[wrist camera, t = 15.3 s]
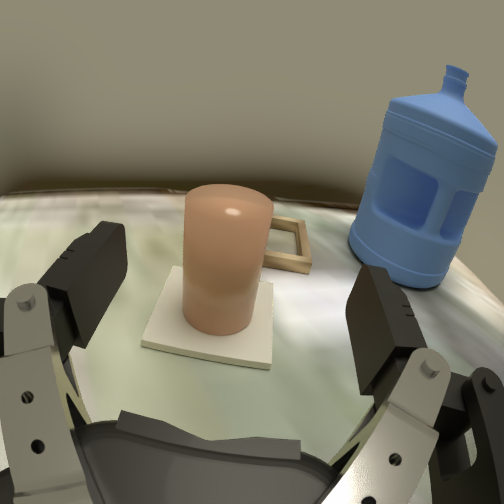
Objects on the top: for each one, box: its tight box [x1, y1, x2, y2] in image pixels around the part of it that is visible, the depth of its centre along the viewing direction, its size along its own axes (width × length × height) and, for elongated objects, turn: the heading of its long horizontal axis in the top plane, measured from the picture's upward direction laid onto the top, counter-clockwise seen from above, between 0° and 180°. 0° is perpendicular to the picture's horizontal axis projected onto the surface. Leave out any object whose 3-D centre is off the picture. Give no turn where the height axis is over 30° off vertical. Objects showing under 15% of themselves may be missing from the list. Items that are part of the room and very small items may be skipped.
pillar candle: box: [182, 184, 274, 336], centre depth 25 cm, size 6×8×10 cm
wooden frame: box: [263, 215, 312, 274], centre depth 39 cm, size 10×10×2 cm
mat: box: [141, 265, 273, 370], centre depth 27 cm, size 10×10×1 cm
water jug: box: [349, 65, 498, 288], centre depth 35 cm, size 16×16×28 cm
